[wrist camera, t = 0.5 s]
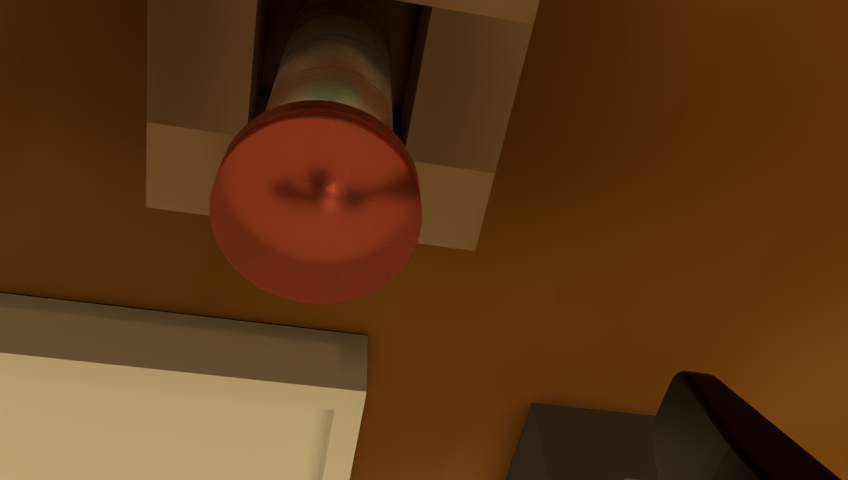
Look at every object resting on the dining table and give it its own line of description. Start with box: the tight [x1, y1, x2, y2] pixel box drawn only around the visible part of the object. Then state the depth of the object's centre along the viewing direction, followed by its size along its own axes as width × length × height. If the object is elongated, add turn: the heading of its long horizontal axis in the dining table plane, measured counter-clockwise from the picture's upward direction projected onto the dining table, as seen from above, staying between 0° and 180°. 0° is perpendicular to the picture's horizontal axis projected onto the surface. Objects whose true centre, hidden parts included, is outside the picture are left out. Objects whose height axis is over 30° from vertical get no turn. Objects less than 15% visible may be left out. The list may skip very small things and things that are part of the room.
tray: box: [0, 293, 368, 480], centre depth 25 cm, size 13×10×2 cm
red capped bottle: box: [209, 0, 422, 305], centre depth 16 cm, size 3×3×9 cm
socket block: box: [146, 0, 540, 251], centre depth 19 cm, size 8×8×2 cm
